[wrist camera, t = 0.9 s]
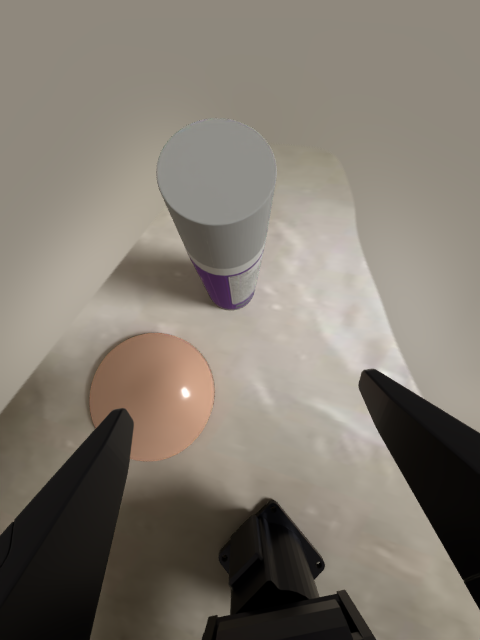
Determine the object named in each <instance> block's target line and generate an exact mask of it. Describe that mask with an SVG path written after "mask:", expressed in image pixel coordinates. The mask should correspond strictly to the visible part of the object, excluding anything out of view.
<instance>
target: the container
mask: <svg viewBox="0 0 480 640" xmlns="http://www.w3.org/2000/svg"><path fill="white" fill-rule="evenodd" d="M276 176H277V167H276V160H275V157H274V154H273V152H272V149H271V148H270V146H269V144H268V143H267V141H266V140H265V139H264V138H263V137H262V136H261V135H260V134H259V133H258V132H257V131H255V130H254V129H253V128H251V127H249V126H248V125H245V124H243V123H240V122H238V121H235V120H230V119H224V118H212V119H204V120H201V121H197V122H194V123H192V124H189V125H187V126H185V127H184V128H182V129H180V130H179V131H178V132H176V133H175V134H174V135H173V136H172V137H171V138H170V139H169V141H168V142H167V143H166V144H165V146H164V147H163V149H162V152H161V153H160V156H159V159H158V163H157V183H158V187H159V190H160V192H161V194H162V196H163V199H164V201H165V203H166V206H167V208H168V210H169V212H170V215H171V217H172V219H173V221H174V223H175V226H176V228H177V230H178V232H179V235H180V237H181V239H182V241H183V244H184V246H185V248H186V250H187V253H188V255H189V257H190V259H191V261H192V263H193V265H194V267H195V269H196V270H197V272H198V274H199V276H200V278H201V280H202V282H203V284H204V286H205V288H206V290H207V292H208V294H209V296H210V297H211V299H212V301H213V302H214V303H215V304H216V305H217V306H219V307H220V308H223V309H226V310H237V309H240V308H243V307H244V306H246V305H247V304H248V303H249V302H250V301H251V299H252V297H253V295H254V291H255V287H256V282H257V278H258V274H259V269H260V265H261V260H262V256H263V252H264V247H265V242H266V236H267V230H268V224H269V218H270V212H271V206H272V200H273V195H274V189H275V183H276Z"/></svg>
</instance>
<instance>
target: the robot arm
mask: <svg viewBox="0 0 480 640" xmlns="http://www.w3.org/2000/svg"><path fill="white" fill-rule="evenodd" d="M359 390H360V392H361V395H362V397H363V399H364V402H365V404H366V406H367V408H368V411H369V413H370V415H371V417H372V420H373V422H374V424H375V426H376V428H377V430H378V432H379V434H380V436H381V437H382V439H383V441H384V443H385V444H386V446H387V448H388V450H389V451H390V453H391V455H392V457H393V458H394V460H395V462H396V464H397V465H398V467H399V469H400V471H401V472H402V474H403V476H404V478H405V479H406V481H407V483H408V485H409V486H410V488H411V490H412V492H413V493H414V495H415V497H416V499H417V500H418V502H419V504H420V506H421V507H422V509H423V511H424V513H425V514H426V516H427V518H428V520H429V521H430V523H431V525H432V527H433V529H434V530H435V532H436V534H437V536H438V537H439V539H440V541H441V543H442V544H443V546H444V548H445V550H446V551H447V553H448V555H449V557H450V558H451V560H452V562H453V564H454V565H455V567H456V569H457V571H458V572H459V574H460V576H461V578H462V579H463V580H464V583H465V585H466V587H467V588H468V590H469V592H470V594H471V595H472V597H473V599H474V601H475V602H476V604H477V606H478V608H479V610H480V433H479V432H477V431H476V430H474V429H472V428H471V427H469V426H467V425H466V424H464V423H462V422H461V421H459V420H458V419H456V418H454V417H453V416H451V415H449V414H448V413H446V412H444V411H443V410H441V409H440V408H438V407H436V406H435V405H433V404H431V403H430V402H428V401H427V400H425V399H423V398H422V397H420V396H418V395H417V394H415V393H413V392H412V391H410V390H409V389H407V388H405V387H404V386H402V385H400V384H399V383H397V382H395V381H394V380H392V379H391V378H389V377H387V376H386V375H384V374H382V373H381V372H379V371H377V370H376V369H367V370H363V371H362V373H361V377H360V380H359ZM133 430H134V421H133V419H132V417H131V416H130V414H129V413H128V411H127V410H126V409H125V408H119V409H114V410H112V411H111V412H110V413H109V414H108V415H107V416H106V418H105V419H104V420H103V421H102V422H101V423H100V424H99V425H98V427H97V428H96V429H95V430H94V431H93V432H92V433H91V434H90V436H89V437H88V438H87V439H86V440H85V441H84V442H83V443H82V444H81V446H80V447H79V448H78V449H77V450H76V451H75V452H74V453H73V455H72V456H71V457H70V458H69V459H68V460H67V461H66V462H65V464H64V465H63V466H62V467H61V468H60V469H59V470H58V471H57V472H56V474H55V475H54V476H53V477H52V478H51V479H50V480H49V481H48V483H47V484H46V485H45V486H44V487H43V488H42V489H41V490H40V492H39V493H38V494H37V495H36V496H35V497H34V498H33V499H32V500H31V502H30V503H29V504H28V505H27V506H26V507H25V508H24V509H23V511H22V512H21V513H20V514H19V515H18V516H17V517H16V518H15V520H14V522H12V523H11V524H10V525H9V526H8V527H7V528H6V530H5V531H4V532H3V533H2V534H1V535H0V640H90V635H91V631H92V627H93V622H94V618H95V613H96V609H97V605H98V600H99V596H100V592H101V587H102V583H103V579H104V574H105V570H106V565H107V561H108V557H109V552H110V548H111V544H112V539H113V535H114V531H115V526H116V522H117V517H118V513H119V509H120V504H121V500H122V496H123V491H124V487H125V483H126V478H127V473H128V468H129V462H130V454H131V446H132V438H133ZM272 506H275V507H276V508H275V509H274V510H272V509H271V507H272ZM223 555H227V557H226V558H224V557H223ZM219 562H220V563H221V565H222V566H223V567H224V569H225V570H226V571H227V573H228V574H229V586H230V588H231V608H230V615H228V616H223V617H218V615H215V616H210V617H208V621H207V625H206V628H205V632H204V633H203V637H202V640H376V639H375V637H374V635H373V634H372V632H371V630H370V629H369V627H368V626H367V624H366V622H365V621H364V619H363V618H362V616H361V614H360V613H359V611H358V610H357V608H356V606H355V605H354V603H353V602H352V600H351V598H350V597H349V595H348V594H347V592H346V590H341V591H337V594H334V595H329V596H324V597H319V594H318V591H317V588H316V585H315V582H314V579H315V578H316V577H317V576H318V575H319V574H320V573H321V572H322V571H323V570H324V567H325V564H324V561H323V558H322V557H321V555H320V554H319V553H318V552H317V550H316V549H315V548H314V547H313V546H312V544H311V543H310V542H309V541H308V539H307V538H306V537H305V536H304V535H303V533H302V532H301V531H300V530H299V528H298V527H297V526H296V525H295V524H294V522H293V521H292V520H291V519H290V517H289V516H288V515H287V514H286V513H285V511H284V510H283V509H282V508H281V506H280V505H279V504H278V503H277V502H276V501H275V500H271V501H269V502H268V503H267V504H266V505H265V506H264V507H263V508H262V509H261V510H260V511H259V512H258V513H257V514H256V515H252V516H251V517H250V518H249V519H248V520H247V521H246V522H245V523H244V524H243V525H242V526H241V527H240V528H239V529H238V530H237V531H236V532H235V533H234V534H233V535H232V536H231V540H230V541H229V542H228V543H227V544H226V545H225V546H224V547H223V548H222V549H221V550H220V552H219ZM316 562H320V563H319V564H316Z"/></svg>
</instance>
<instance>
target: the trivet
mask: <svg viewBox="0 0 480 640" xmlns="http://www.w3.org/2000/svg"><path fill="white" fill-rule="evenodd" d="M214 397H215V387H214V379H213V375H212V372H211V369H210V367H209V365H208V363H207V361H206V359H205V358H204V357H203V355H202V354H201V353H200V352H199V351H198V350H197V349H196V348H195V347H194V346H193V345H191V344H190V343H188V342H187V341H185V340H183V339H181V338H178V337H175V336H172V335H168V334H162V333H147V334H141V335H138V336H134V337H132V338H130V339H127V340H126V341H124V342H122V343H120V344H119V345H118V346H116V347H115V348H114V349H113V350H112V351H110V352H109V353H108V355H107V356H106V357H105V358H104V359H103V361H102V362H101V364H100V365H99V367H98V369H97V371H96V373H95V375H94V378H93V381H92V384H91V389H90V397H89V403H90V413H91V417H92V421H93V424H94V426H95V428H97V427H98V425H99V424H100V423H101V422H102V421H103V420H104V419H105V418H106V416H107V415H108V414H109V413H110V412H111V411H112V410H114V409H119V408H125V409H126V410H127V411H128V413H129V414H130V416H131V417H132V419H133V421H134V430H133V438H132V446H131V454H130V459H133V460H138V461H158V460H162V459H166V458H169V457H171V456H174V455H176V454H178V453H179V452H181V451H183V450H184V449H186V448H187V447H188V446H189V445H191V444H192V443H193V441H194V440H195V439H196V438H197V437H198V436H199V434H200V433H201V432H202V430H203V428H204V427H205V425H206V423H207V421H208V419H209V417H210V414H211V412H212V408H213V404H214Z"/></svg>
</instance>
